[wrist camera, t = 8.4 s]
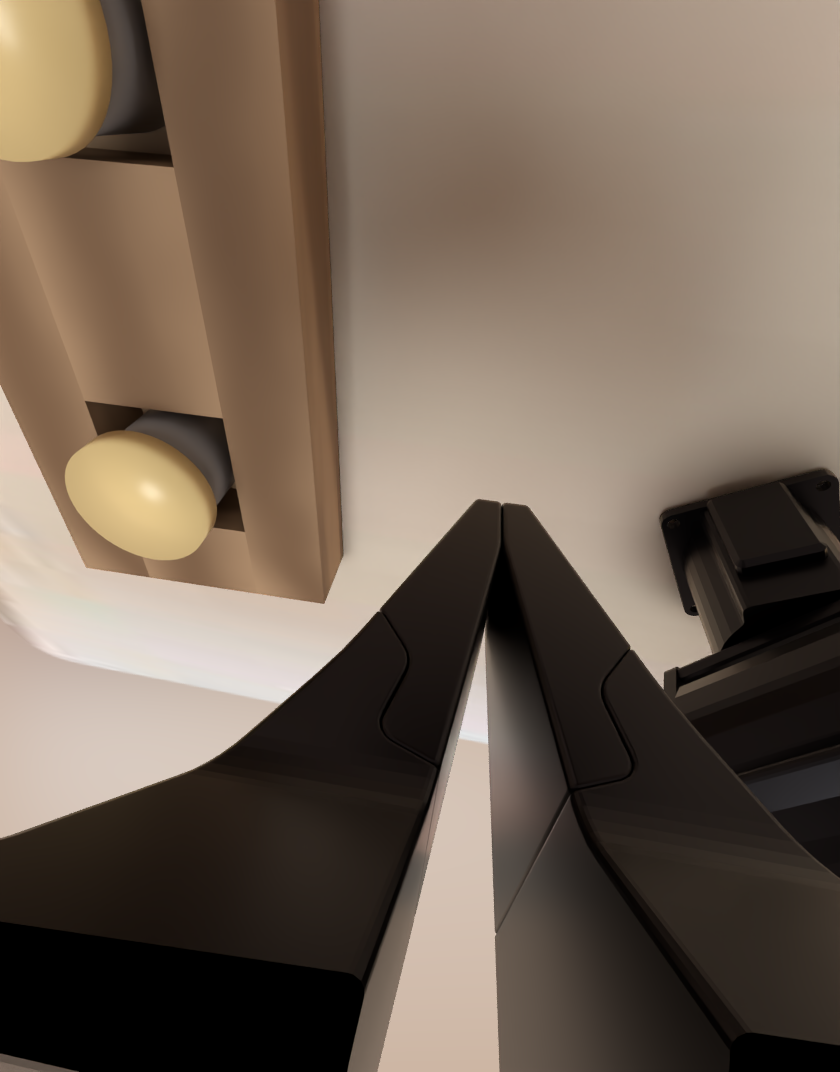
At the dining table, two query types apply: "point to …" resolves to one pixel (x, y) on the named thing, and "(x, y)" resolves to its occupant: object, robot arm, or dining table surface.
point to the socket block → (192, 292)
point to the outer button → (73, 76)
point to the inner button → (153, 483)
